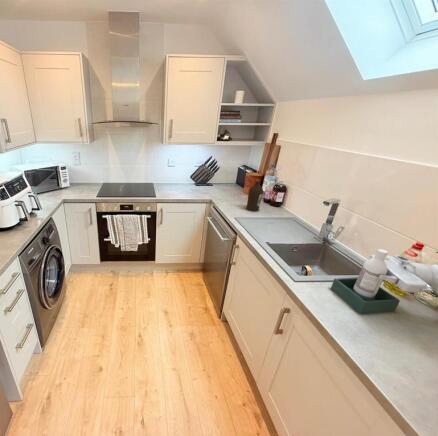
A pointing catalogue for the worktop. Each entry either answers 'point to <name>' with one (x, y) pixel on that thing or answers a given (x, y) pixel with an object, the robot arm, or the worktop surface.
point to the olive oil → (254, 196)
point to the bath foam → (371, 275)
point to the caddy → (361, 303)
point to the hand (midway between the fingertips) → (371, 270)
